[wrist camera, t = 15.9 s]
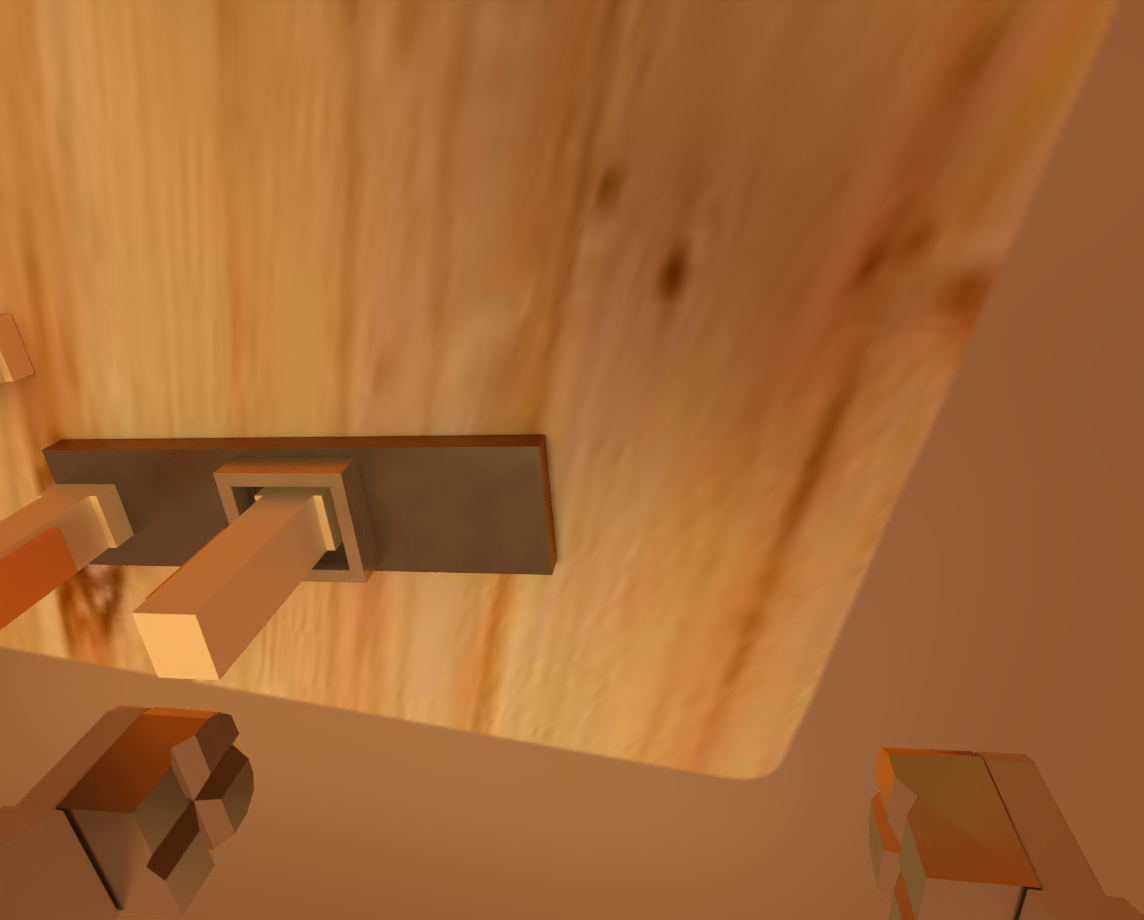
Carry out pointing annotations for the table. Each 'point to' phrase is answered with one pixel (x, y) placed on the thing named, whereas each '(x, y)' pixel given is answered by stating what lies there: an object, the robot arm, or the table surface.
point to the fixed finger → (56, 541)
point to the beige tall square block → (236, 582)
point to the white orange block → (12, 352)
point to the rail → (334, 497)
